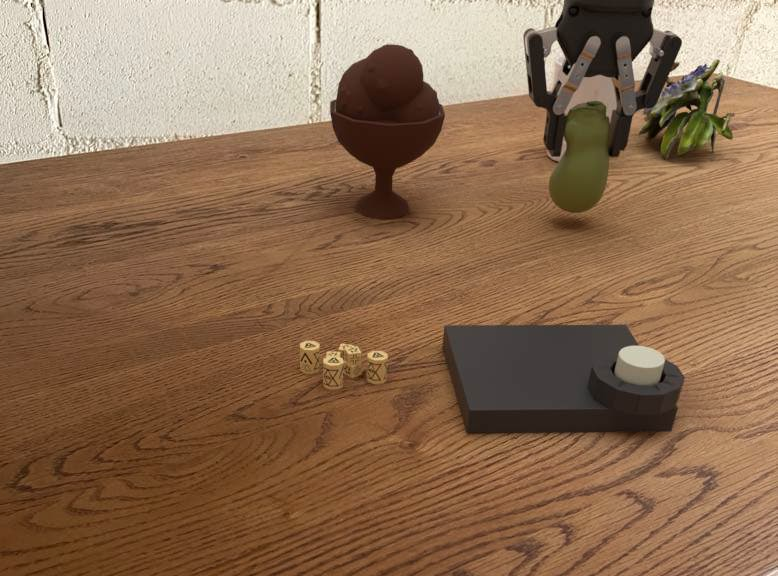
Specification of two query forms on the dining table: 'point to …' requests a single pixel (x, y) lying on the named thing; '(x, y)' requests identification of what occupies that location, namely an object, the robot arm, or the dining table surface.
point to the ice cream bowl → (386, 121)
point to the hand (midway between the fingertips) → (583, 153)
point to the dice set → (342, 364)
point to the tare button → (639, 365)
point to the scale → (553, 380)
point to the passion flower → (698, 119)
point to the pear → (582, 159)
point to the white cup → (588, 96)
